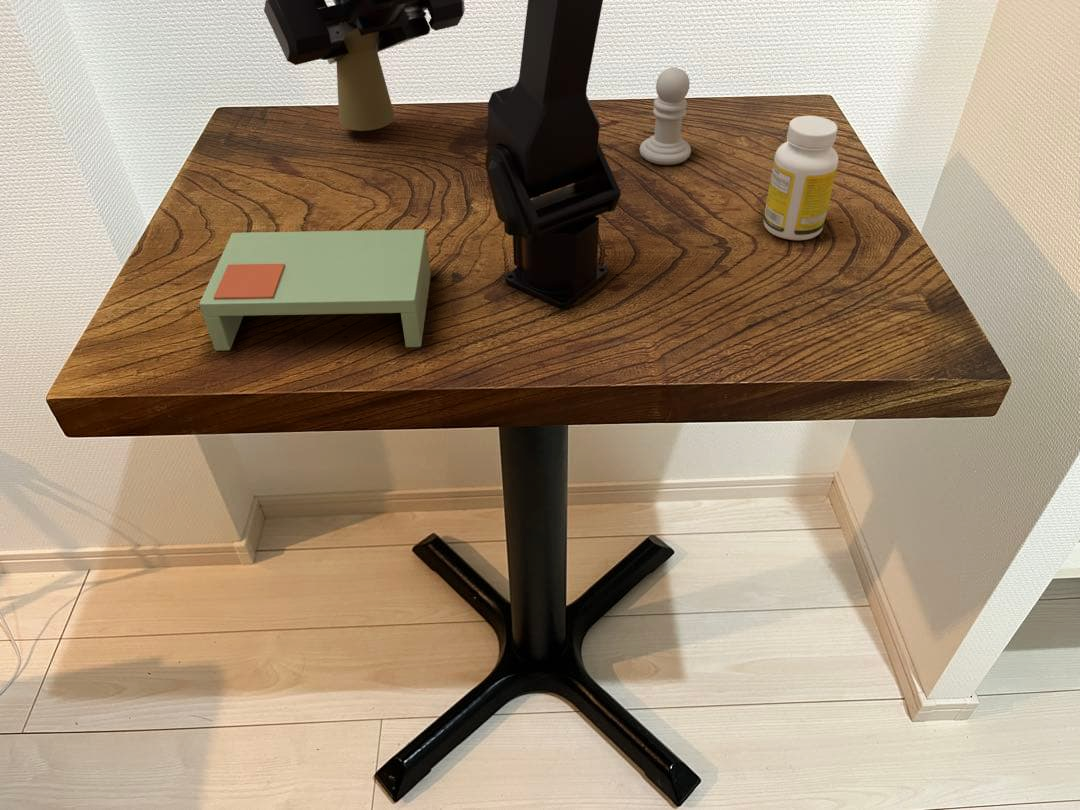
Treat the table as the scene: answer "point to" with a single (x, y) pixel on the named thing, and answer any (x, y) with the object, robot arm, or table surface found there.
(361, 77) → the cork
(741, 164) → the table surface
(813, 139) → the supplement bottle
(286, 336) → the table surface
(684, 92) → the chess piece
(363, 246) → the shelf
